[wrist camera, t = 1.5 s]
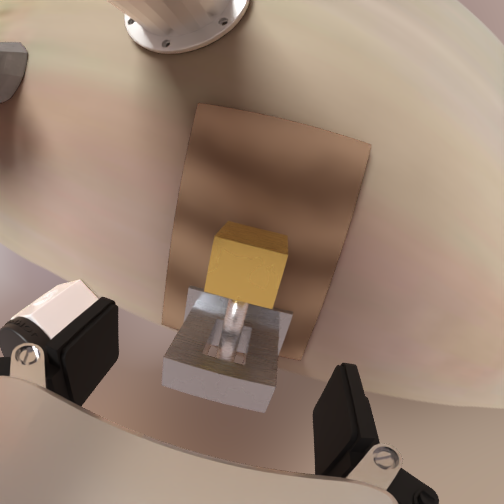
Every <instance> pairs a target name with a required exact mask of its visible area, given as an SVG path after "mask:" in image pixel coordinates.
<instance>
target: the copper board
mask: <svg viewBox="0 0 504 504" xmlns="http://www.w3.org/2000/svg"><path fill="white" fill-rule="evenodd" d="M370 149H371V144H368V143H365V142H362V141H359V140H356V139H353V138H350V137H347V136H344V135H340V134H337V133H334V132H331V131H327V130H324V129H320V128H317V127H313V126H309V125H306V124H302V123H298V122H294V121H290V120H286V119H282V118H277V117H273V116H269V115H264V114H259V113H254V112H249V111H244V110H239V109H233V108H228V107H222V106H216V105H209V104H202V103H198V105H197V109H196V113H195V117H194V121H193V126H192V130H191V135H190V139H189V144H188V149H187V153H186V158H185V163H184V168H183V173H182V179H181V184H180V190H179V195H178V201H177V207H176V213H175V219H174V226H173V232H172V239H171V246H170V253H169V261H168V269H167V277H166V286H165V295H164V305H163V315H162V325H165V326H169V327H172V328H175V329H178V330H180V328H181V326H182V325H183V323H184V316H185V309H186V302H187V295H188V288H189V287H190V285H191V286H195V287H198V288H202V289H204V288H205V283H206V277H207V272H208V267H209V261H210V256H211V251H212V246H213V241H214V236H215V235H216V234H217V233H218V232H219V230H220V229H221V228H222V227H223V226H224V225H225V224H226V223H227V221H231V222H235V223H239V224H243V225H247V226H251V227H255V228H259V229H263V230H267V231H271V232H275V233H279V234H283V235H287V236H288V258H287V261H286V265H285V268H284V272H283V275H282V278H281V282H280V285H279V289H278V292H277V295H276V299H275V302H274V305H273V307H275V308H279V309H283V310H288V311H292V312H293V316H292V319H291V322H290V325H289V327H288V330H287V333H286V336H285V339H284V342H283V344H282V347H281V350H280V353H279V355H278V356H281V357H286V358H290V359H295V360H301V358H302V355H303V353H304V351H305V348H306V346H307V343H308V341H309V338H310V336H311V333H312V331H313V328H314V326H315V323H316V321H317V318H318V315H319V313H320V310H321V307H322V305H323V302H324V299H325V297H326V294H327V291H328V288H329V285H330V283H331V280H332V277H333V274H334V271H335V268H336V265H337V262H338V259H339V256H340V253H341V250H342V247H343V244H344V241H345V238H346V235H347V232H348V228H349V225H350V222H351V219H352V215H353V212H354V208H355V205H356V201H357V198H358V194H359V191H360V187H361V184H362V180H363V176H364V172H365V169H366V165H367V161H368V157H369V153H370Z"/></svg>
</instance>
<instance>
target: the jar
mask: <svg viewBox="0 0 504 504" xmlns="http://www.w3.org/2000/svg"><path fill="white" fill-rule="evenodd" d="M97 300H98V298H97V297H96V295H95V294H94V293H93V292H92V291H91V290H90V289H89V288H88V287H87V286H86V285H85V284H84V283H83V282H82V281H81V280H80V279H79V280H75V281H72V282H68V283H64V284H60V285H57V286H56V287H54V288H53V289H51V290H50V291H48V292H47V293H46V294H44V295H43V296H41V297H40V298H39V299H37V300H35V301H34V302H33V303H31V304H30V305H29V306H27V307H26V308H24V309H23V310H21V311H20V312H19V313H17V314H16V315H14V316H13V317H12V318H11V320H10V321H9V322H7V323H6V324H5V325H4V326H3V327H2V328H1V329H0V348H1V351H2V353H3V355H4V357H11V355H12V351H13V350H14V349H15V347H17V346H18V345H21V344H23V343H33V344H36V345H38V346H39V347H41V348H43V347H44V346H45V344H46V343H47V342H49V341H50V340H51V339H52V338H53V337H54V336H55V335H57V334H58V333H59V332H60V331H61V330H62V329H64V328H65V327H66V326H67V325H68V324H69V323H71V322H72V321H73V320H74V319H75V318H77V317H78V316H79V315H80V314H81V313H83V312H84V311H85V310H86V309H87V308H89V307H90V306H91V305H92V304H93V303H95V302H96V301H97Z"/></svg>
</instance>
